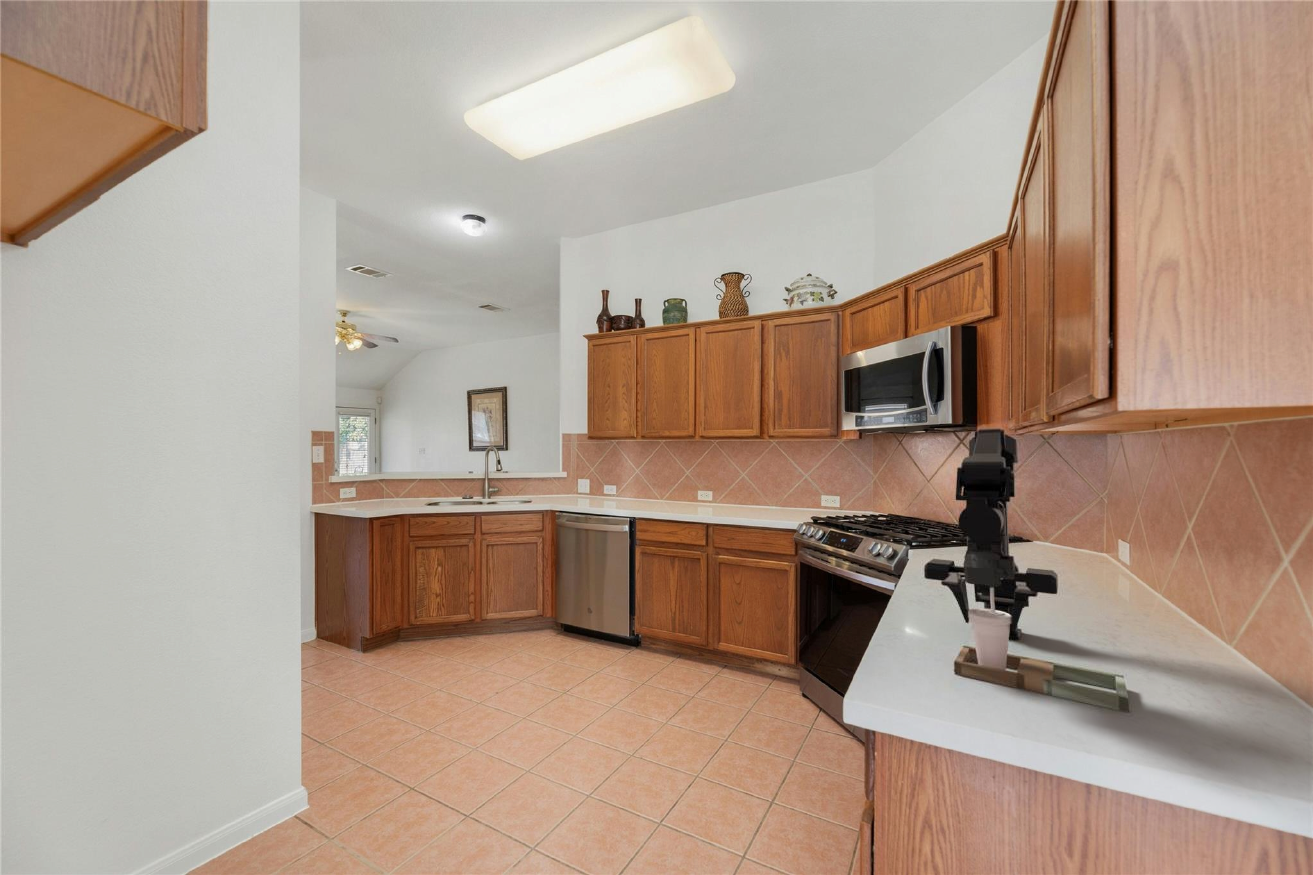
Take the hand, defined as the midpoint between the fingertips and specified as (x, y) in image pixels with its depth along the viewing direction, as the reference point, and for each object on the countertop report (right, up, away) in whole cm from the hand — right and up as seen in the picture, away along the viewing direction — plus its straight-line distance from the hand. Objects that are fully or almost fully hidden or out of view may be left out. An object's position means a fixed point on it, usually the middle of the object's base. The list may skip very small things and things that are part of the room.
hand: (990, 626), depth 87 cm
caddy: (+5, -7, -4) cm, 10 cm away
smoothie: (0, -8, 0) cm, 8 cm away
